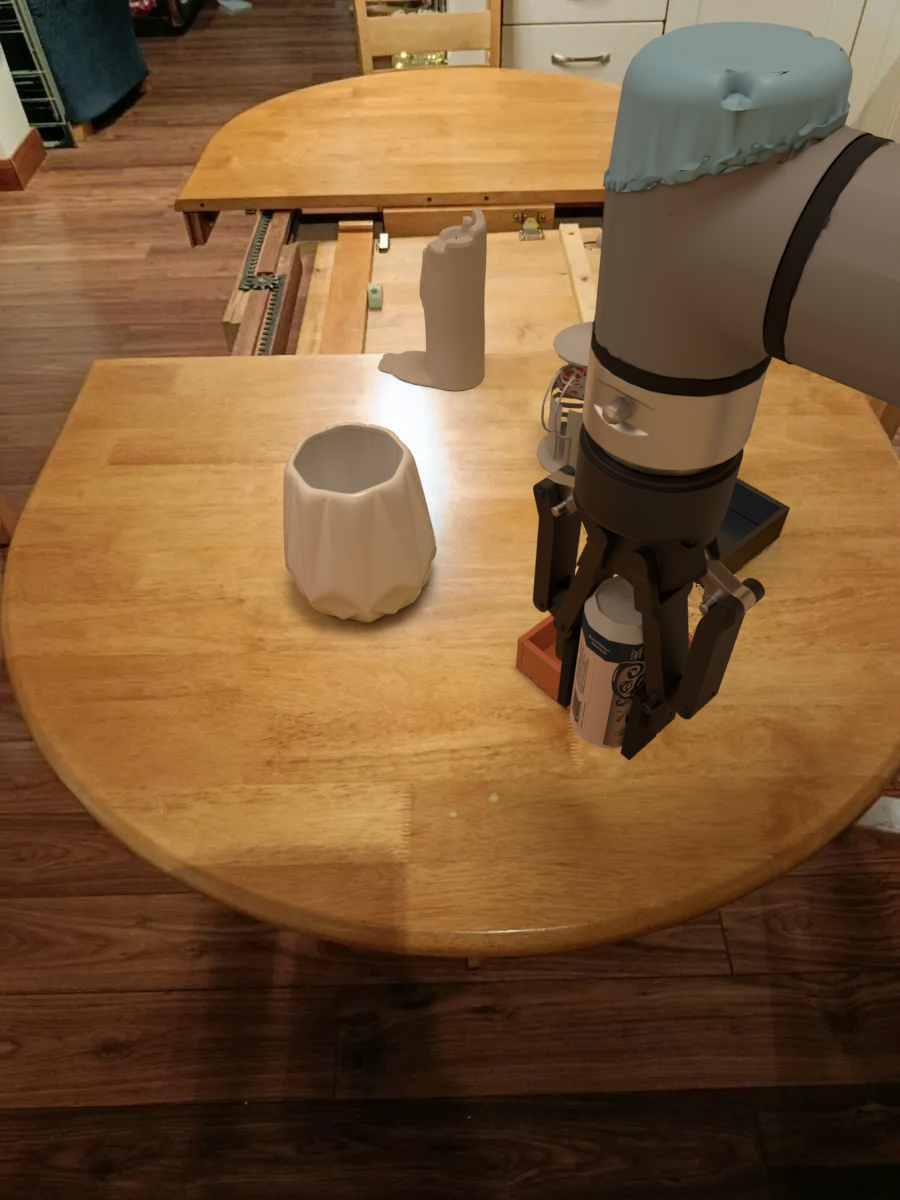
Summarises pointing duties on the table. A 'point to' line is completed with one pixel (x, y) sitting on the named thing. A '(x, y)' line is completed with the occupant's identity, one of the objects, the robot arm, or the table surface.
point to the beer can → (607, 664)
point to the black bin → (749, 525)
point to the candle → (450, 311)
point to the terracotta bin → (543, 656)
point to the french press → (566, 396)
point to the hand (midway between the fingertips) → (605, 718)
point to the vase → (356, 522)
